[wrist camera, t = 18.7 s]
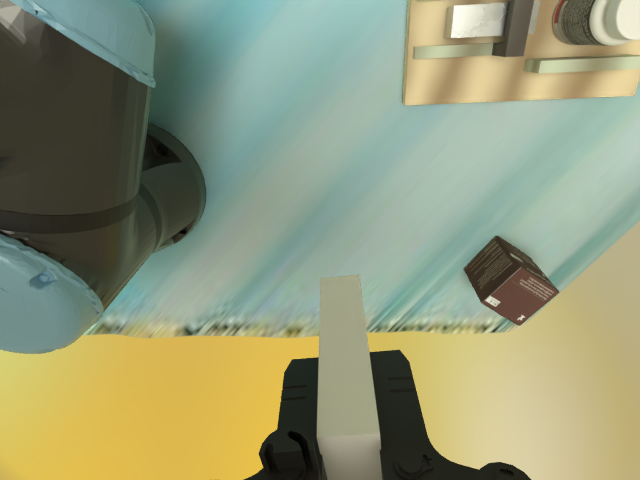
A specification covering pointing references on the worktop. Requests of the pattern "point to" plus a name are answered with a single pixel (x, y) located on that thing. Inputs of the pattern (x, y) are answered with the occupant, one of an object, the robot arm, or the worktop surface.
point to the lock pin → (481, 20)
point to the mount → (508, 60)
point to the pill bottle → (597, 22)
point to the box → (509, 281)
